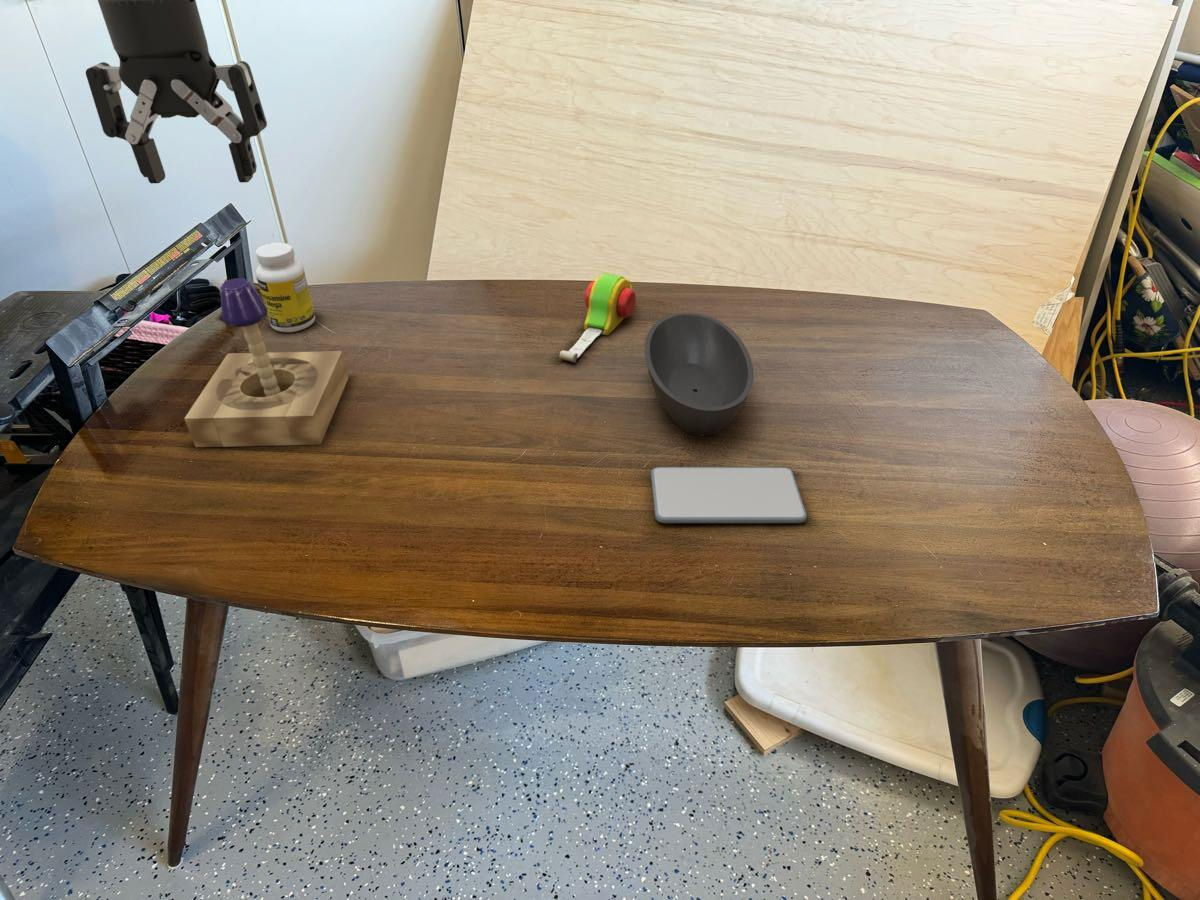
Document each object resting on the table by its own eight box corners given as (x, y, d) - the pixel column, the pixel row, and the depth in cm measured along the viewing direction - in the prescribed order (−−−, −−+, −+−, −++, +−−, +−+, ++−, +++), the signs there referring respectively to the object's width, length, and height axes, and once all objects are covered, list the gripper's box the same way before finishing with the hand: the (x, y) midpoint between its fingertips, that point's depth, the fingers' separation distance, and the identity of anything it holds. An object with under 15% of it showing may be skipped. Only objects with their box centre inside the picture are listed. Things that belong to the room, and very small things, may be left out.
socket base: (195, 447, 89) (183, 418, 87) (236, 380, 100) (227, 353, 98) (320, 444, 89) (313, 415, 87) (348, 378, 100) (342, 350, 98)
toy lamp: (284, 424, 93) (244, 293, 82) (247, 421, 93) (203, 291, 83) (303, 401, 96) (267, 274, 86) (267, 398, 97) (227, 271, 87)
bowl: (727, 353, 105) (732, 311, 101) (763, 455, 87) (770, 408, 84) (635, 356, 104) (637, 313, 101) (653, 459, 87) (655, 412, 83)
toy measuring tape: (647, 306, 116) (649, 263, 112) (587, 369, 102) (586, 323, 98) (608, 297, 118) (608, 255, 114) (544, 358, 104) (541, 313, 100)
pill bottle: (261, 330, 111) (238, 255, 104) (287, 310, 115) (267, 237, 109) (300, 336, 109) (279, 261, 102) (325, 316, 114) (307, 242, 107)
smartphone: (808, 518, 78) (655, 518, 77) (807, 526, 78) (655, 526, 78) (791, 465, 84) (650, 465, 84) (790, 473, 85) (650, 472, 85)
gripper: (36, -3, 65) (111, 195, 74) (213, -5, 65) (264, 193, 75) (81, -16, 71) (145, 169, 80) (243, -17, 71) (287, 167, 81)
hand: (202, 180), depth 77 cm, fingers open, 8 cm apart
